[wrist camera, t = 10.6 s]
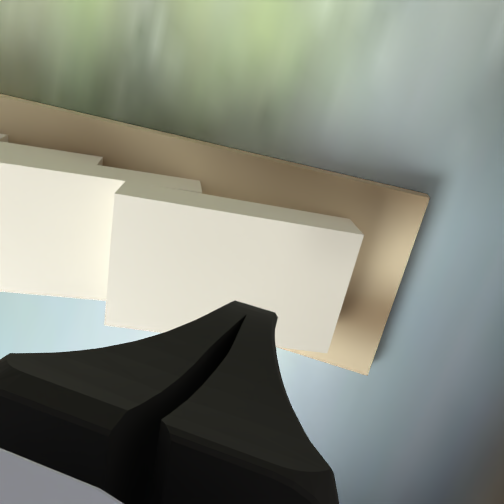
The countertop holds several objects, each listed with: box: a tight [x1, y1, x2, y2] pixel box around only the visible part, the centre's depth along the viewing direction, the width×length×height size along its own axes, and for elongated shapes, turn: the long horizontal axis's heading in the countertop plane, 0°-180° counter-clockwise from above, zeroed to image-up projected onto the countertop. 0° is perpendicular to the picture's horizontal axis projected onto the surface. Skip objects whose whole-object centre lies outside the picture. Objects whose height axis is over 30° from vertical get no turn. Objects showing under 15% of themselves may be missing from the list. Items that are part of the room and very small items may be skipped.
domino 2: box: [104, 181, 364, 353], centre depth 16 cm, size 5×2×8 cm
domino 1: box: [0, 150, 202, 301], centre depth 17 cm, size 5×2×8 cm
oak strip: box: [0, 94, 430, 376], centre depth 20 cm, size 8×24×1 cm, turn 79°
